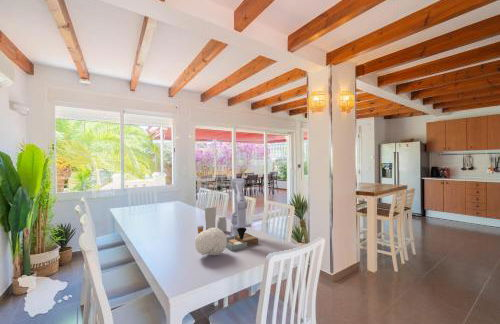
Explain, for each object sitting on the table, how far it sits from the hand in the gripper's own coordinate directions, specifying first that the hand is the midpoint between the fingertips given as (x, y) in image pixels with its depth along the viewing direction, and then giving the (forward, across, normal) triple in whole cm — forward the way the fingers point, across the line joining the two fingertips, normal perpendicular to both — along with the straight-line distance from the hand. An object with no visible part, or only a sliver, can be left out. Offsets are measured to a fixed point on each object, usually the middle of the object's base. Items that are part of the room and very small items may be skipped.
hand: (241, 238), depth 160 cm
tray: (+5, -4, +3) cm, 7 cm away
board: (+5, +6, +4) cm, 9 cm away
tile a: (+2, -3, +6) cm, 7 cm away
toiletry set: (+5, -4, +35) cm, 36 cm away
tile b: (+2, -3, 0) cm, 4 cm away
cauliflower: (+5, -24, -4) cm, 25 cm away
